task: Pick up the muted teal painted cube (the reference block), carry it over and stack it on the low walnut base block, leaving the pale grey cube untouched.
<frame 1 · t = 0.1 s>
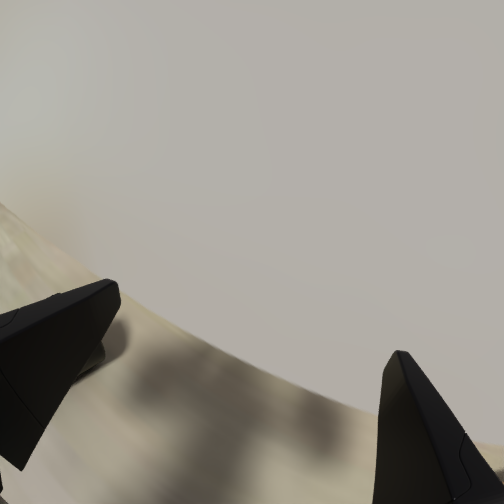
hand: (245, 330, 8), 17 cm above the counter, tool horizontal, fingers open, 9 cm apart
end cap: (58, 376, 22), on the counter
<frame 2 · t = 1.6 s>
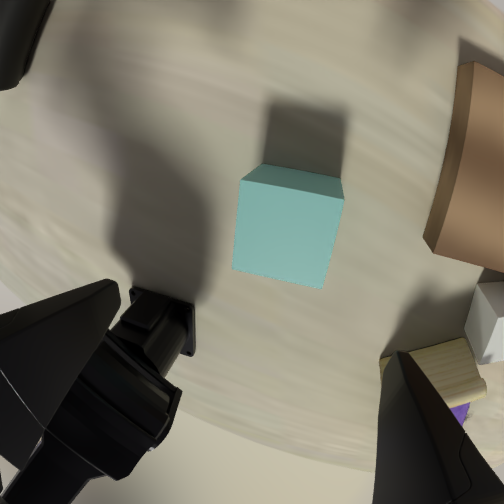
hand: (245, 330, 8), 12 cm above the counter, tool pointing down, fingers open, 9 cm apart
teal block: (295, 207, 19), on the counter
toy sofa: (420, 405, 25), on the counter
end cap: (32, 38, 17), on the counter
grey cube: (490, 304, 18), on the counter
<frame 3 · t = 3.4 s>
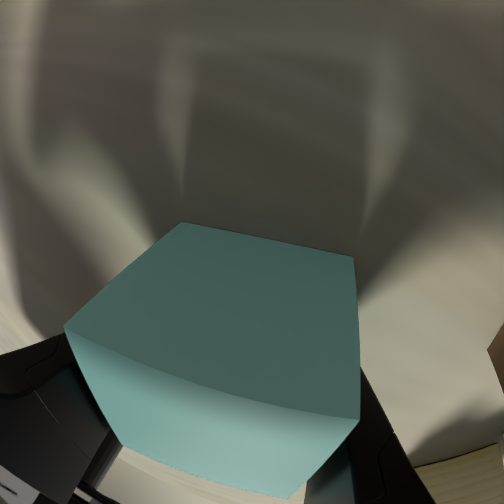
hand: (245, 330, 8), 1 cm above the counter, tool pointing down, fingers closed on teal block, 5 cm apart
teal block: (254, 308, 9), on the counter, touching gripper
toy sofa: (428, 492, 15), on the counter
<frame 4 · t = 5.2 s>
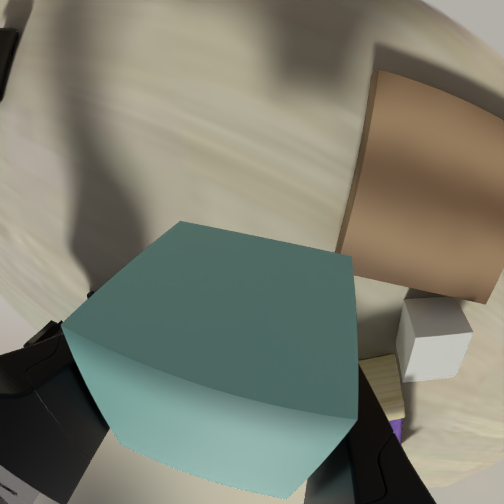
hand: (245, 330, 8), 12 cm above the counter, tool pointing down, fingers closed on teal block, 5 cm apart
teal block: (252, 308, 9), point 11 cm above the counter, touching gripper
base block: (437, 189, 16), on the counter
toy sofa: (361, 415, 27), on the counter
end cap: (5, 67, 19), on the counter
grey cube: (424, 320, 20), on the counter
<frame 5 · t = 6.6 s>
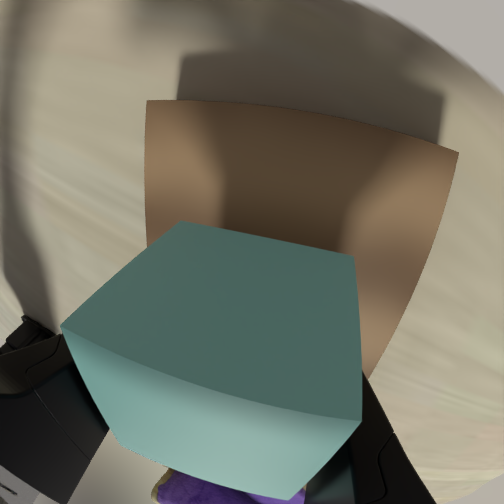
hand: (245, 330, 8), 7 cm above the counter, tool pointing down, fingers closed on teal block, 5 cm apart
teal block: (254, 308, 9), point 6 cm above the counter, touching gripper
base block: (286, 234, 15), on the counter
toy sofa: (270, 453, 26), on the counter
when the fingers open (5 cm above the counter, at t = 7.3 s): teal block drops 2 cm, resting on base block.
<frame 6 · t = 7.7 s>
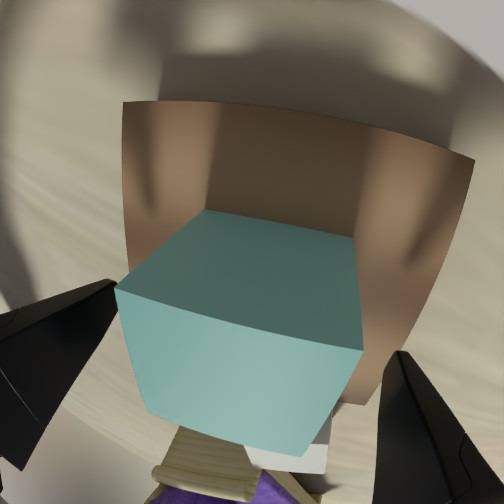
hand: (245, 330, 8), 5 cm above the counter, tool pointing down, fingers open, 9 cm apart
teal block: (267, 286, 11), point 2 cm above the counter, touching base block
base block: (280, 247, 13), on the counter, touching teal block
toy sofa: (265, 466, 24), on the counter
grey cube: (298, 398, 17), on the counter
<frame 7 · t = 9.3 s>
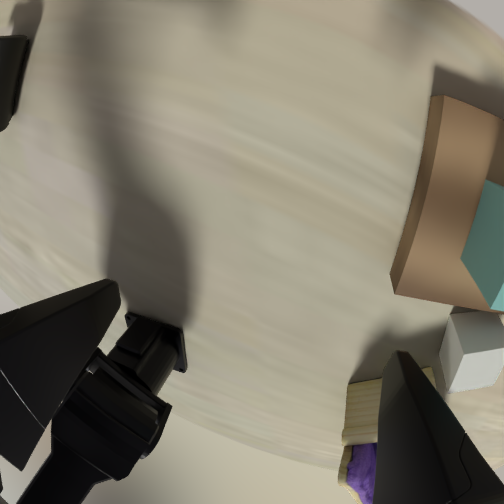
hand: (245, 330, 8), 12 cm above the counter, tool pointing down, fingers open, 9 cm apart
teal block: (503, 230, 13), point 2 cm above the counter, touching base block
base block: (485, 210, 15), on the counter, touching teal block
toy sofa: (396, 421, 26), on the counter
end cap: (17, 77, 19), on the counter
grey cube: (466, 332, 19), on the counter
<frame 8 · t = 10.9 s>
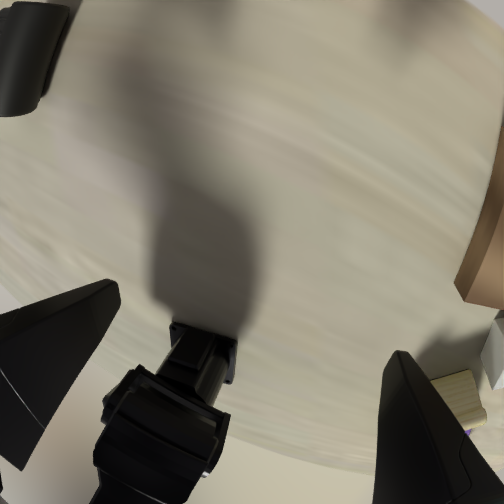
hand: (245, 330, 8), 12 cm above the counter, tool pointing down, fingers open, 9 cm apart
toy sofa: (429, 422, 26), on the counter
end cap: (50, 54, 18), on the counter
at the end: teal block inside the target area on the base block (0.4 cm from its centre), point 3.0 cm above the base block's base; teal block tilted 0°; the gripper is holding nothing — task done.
